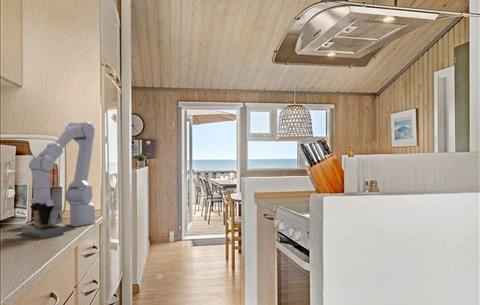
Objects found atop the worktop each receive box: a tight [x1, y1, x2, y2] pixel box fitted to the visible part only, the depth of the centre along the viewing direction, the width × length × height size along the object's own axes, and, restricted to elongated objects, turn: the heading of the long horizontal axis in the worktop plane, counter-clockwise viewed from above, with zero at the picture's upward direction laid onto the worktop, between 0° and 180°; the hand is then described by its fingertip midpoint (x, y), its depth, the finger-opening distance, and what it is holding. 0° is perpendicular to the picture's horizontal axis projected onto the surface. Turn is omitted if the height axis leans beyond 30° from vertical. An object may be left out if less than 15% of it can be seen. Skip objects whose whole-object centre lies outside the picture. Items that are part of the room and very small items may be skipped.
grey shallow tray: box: [21, 223, 65, 240], centre depth 139 cm, size 8×17×3 cm, turn 51°
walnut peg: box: [33, 210, 49, 228], centre depth 139 cm, size 4×4×8 cm
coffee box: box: [48, 185, 63, 225], centre depth 163 cm, size 9×6×16 cm
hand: (42, 223), depth 139 cm, fingers closed on walnut peg, 3 cm apart
